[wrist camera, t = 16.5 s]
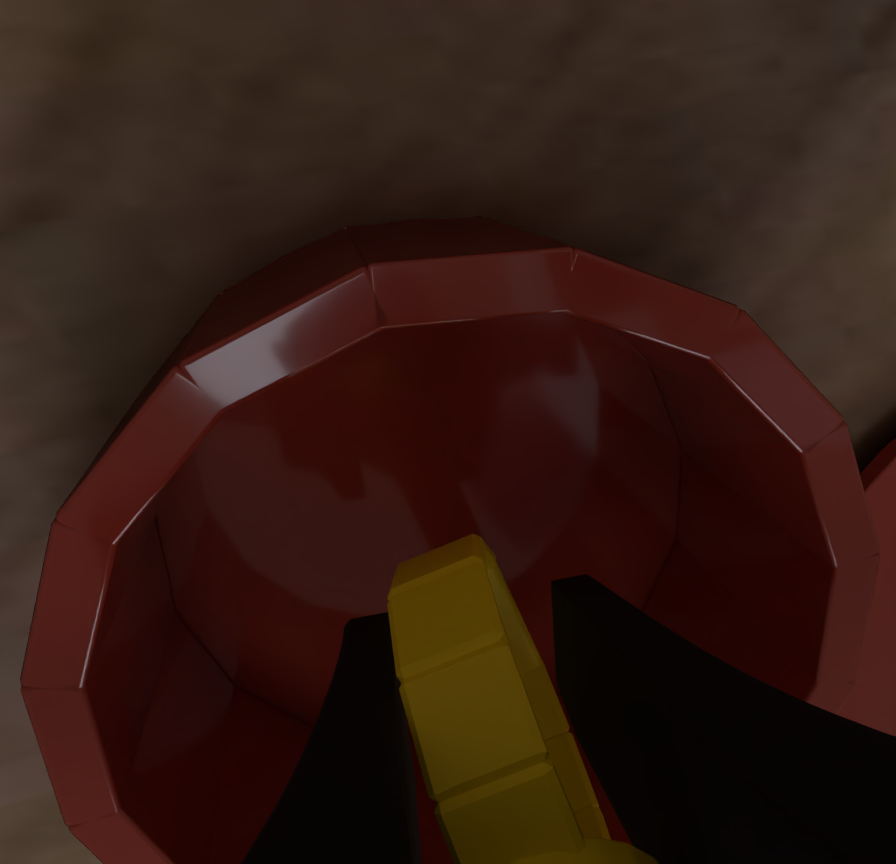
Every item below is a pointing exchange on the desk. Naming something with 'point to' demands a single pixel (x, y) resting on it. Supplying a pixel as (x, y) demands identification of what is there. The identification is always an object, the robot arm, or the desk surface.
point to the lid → (879, 605)
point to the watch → (490, 719)
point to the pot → (421, 510)
